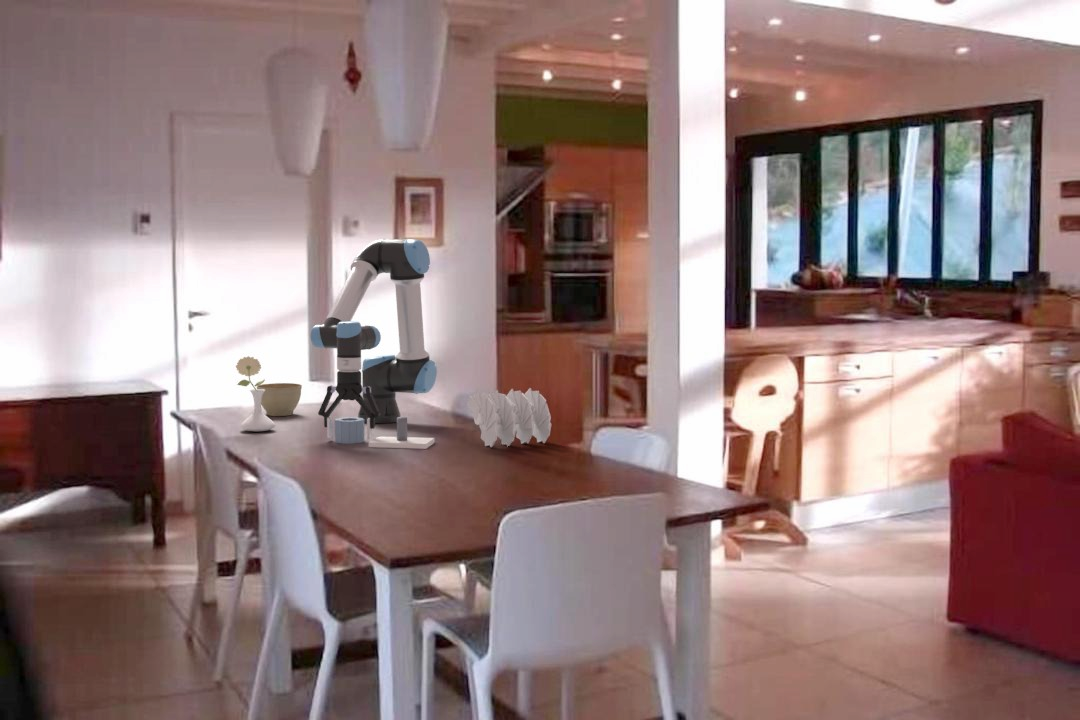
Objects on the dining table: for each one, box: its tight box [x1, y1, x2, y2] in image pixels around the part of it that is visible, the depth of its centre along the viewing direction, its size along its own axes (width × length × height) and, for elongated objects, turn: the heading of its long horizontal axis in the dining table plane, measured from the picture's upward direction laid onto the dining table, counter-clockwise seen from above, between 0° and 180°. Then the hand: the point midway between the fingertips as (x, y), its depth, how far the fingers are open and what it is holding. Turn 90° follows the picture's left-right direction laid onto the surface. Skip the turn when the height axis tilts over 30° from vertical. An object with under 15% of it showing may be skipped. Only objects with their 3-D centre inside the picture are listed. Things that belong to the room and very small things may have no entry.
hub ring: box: [334, 416, 365, 445], centre depth 375 cm, size 9×9×7 cm
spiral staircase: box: [466, 387, 552, 448], centre depth 370 cm, size 18×18×25 cm
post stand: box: [368, 416, 436, 450], centre depth 368 cm, size 12×18×8 cm, turn 83°
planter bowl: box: [256, 382, 303, 417], centre depth 435 cm, size 16×16×11 cm
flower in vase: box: [235, 356, 276, 433], centre depth 394 cm, size 13×11×25 cm
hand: (349, 438), depth 375 cm, fingers open, 12 cm apart
